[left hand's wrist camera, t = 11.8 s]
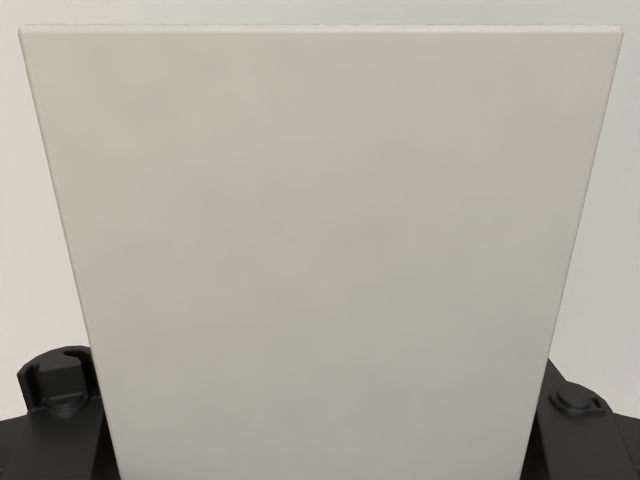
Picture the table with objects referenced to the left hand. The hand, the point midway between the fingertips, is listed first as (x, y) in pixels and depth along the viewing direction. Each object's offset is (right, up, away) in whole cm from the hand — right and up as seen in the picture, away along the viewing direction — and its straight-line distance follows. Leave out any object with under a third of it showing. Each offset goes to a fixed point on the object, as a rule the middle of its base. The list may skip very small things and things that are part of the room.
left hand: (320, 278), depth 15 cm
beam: (0, -19, +8) cm, 21 cm away
